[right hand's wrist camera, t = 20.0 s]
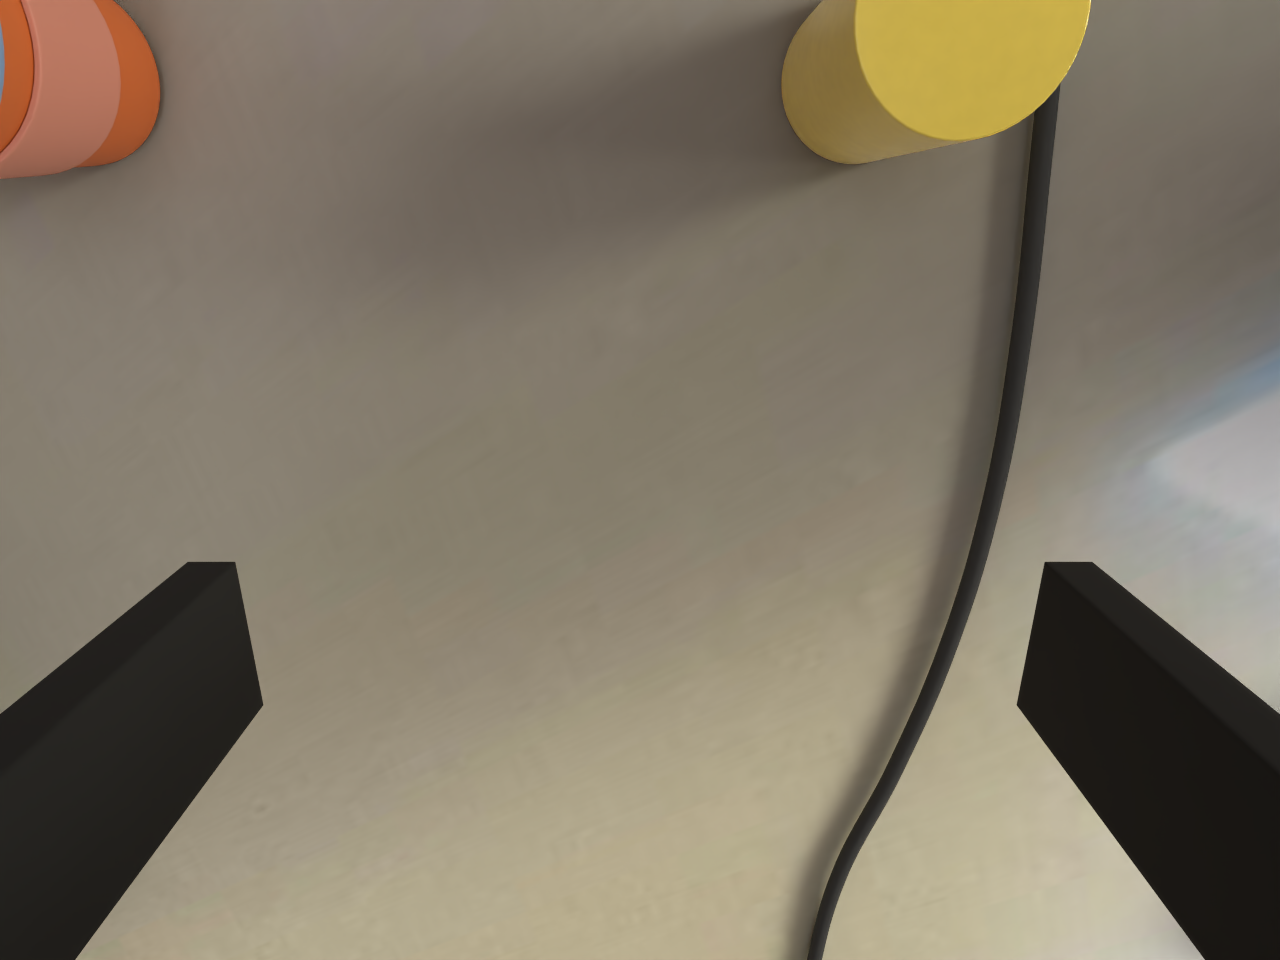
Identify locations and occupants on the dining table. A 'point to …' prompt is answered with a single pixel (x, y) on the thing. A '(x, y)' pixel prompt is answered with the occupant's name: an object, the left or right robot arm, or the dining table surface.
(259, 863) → the dining table surface
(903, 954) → the dining table surface
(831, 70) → the yellow cylinder
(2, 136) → the cup with straw
